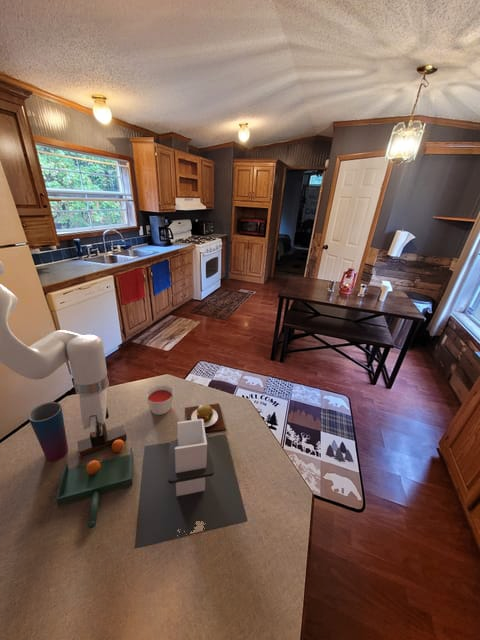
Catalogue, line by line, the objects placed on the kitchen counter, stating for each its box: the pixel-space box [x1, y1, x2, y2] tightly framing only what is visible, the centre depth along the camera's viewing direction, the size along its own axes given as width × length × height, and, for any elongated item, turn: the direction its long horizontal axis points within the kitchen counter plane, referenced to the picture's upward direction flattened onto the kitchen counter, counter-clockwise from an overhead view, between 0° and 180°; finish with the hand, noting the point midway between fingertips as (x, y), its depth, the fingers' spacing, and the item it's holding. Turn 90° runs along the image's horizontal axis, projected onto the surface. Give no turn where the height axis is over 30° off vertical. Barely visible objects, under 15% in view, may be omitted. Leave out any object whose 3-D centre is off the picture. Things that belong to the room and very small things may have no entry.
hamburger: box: [184, 403, 227, 434], centre depth 84 cm, size 12×12×6 cm
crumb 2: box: [111, 440, 125, 453], centre depth 72 cm, size 3×3×3 cm
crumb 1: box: [86, 460, 101, 475], centre depth 65 cm, size 3×3×3 cm
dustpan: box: [55, 447, 134, 530], centre depth 61 cm, size 17×16×3 cm
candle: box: [145, 384, 175, 416], centre depth 87 cm, size 9×9×6 cm
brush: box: [77, 421, 127, 458], centre depth 72 cm, size 4×12×8 cm, turn 125°
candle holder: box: [134, 419, 248, 549], centre depth 63 cm, size 25×24×16 cm
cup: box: [27, 401, 69, 462], centre depth 67 cm, size 7×7×15 cm
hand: (101, 431), depth 72 cm, fingers open, 9 cm apart
